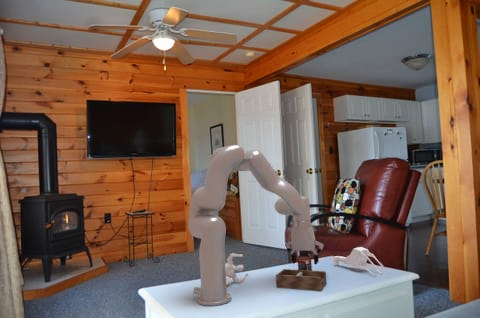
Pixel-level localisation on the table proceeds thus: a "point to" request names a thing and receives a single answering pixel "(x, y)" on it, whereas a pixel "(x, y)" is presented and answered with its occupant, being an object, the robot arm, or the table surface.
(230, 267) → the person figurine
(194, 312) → the table surface
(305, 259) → the supplement bottle
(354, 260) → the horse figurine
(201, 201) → the robot arm
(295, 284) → the brown wooden box
